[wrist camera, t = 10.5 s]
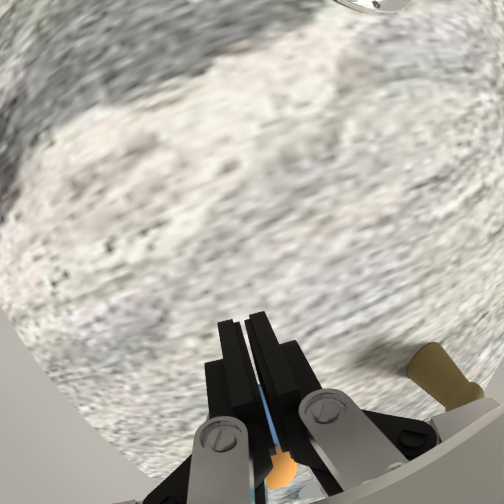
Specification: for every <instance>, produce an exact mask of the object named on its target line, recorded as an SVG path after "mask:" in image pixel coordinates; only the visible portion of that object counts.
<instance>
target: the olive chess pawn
mask: <svg viewBox="0 0 504 504" xmlns="http://www.w3.org/2000/svg"><path fill="white" fill-rule="evenodd" d="M407 375H408V377H409V378H410V379H411V380H412V381H414V382H415V383H416V384H417V385H418V386H420V387H421V388H422V389H423V390H425V391H426V392H427V393H428V394H430V395H431V396H432V397H433V398H434V399H436V400H437V401H438V402H439V403H441V404H442V405H443V406H444V407H446V412H448V411H451V410H453V409H456V408H458V407H461V406H464V405H466V404H468V403H471V402H473V401H476V400H478V399H481V398H484V391H483V389H482V388H481V387H480V386H479V385H478V384H476V383H474V382H469V381H468V380H467V379H466V377H465V376H464V375H463V373H462V372H461V371H460V369H459V368H458V367H457V366H456V364H455V363H454V362H453V360H452V359H451V358H450V357H449V355H448V354H447V353H446V351H445V350H444V349H443V348H442V346H441V345H440V344H439V343H436V342H433V343H430V344H428V345H426V346H424V347H423V348H422V349H421V350H419V351H418V352H417V354H416V355H415V356H414V357H413V358H412V360H411V362H410V363H409V366H408V368H407Z"/></svg>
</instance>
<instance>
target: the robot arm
mask: <svg viewBox="0 0 504 504" xmlns="http://www.w3.org/2000/svg"><path fill="white" fill-rule="evenodd" d="M337 1H338V2H340V3H342V4H344V5H346V6H348V7H350V8H352V9H355V10H358V11H361V12H364V13H369V14H374V15H389V14H394V13H396V12H398V11H401V10H403V9H404V8H405V7H407V6H408V5H409V3H410V2H411V0H337ZM249 318H250V319H247V320H244V322H245V326H246V330H247V334H248V338H249V343H250V347H251V351H252V355H253V359H254V363H255V367H256V371H257V375H258V378H259V382H260V385H261V388H262V392H263V395H264V398H265V401H266V404H267V407H268V411H269V414H270V417H271V420H272V423H273V426H274V429H275V432H276V435H277V438H278V441H279V444H280V447H281V450H282V453H284V452H288V451H289V454H290V457H291V459H293V460H294V462H297V463H300V464H302V465H305V466H306V467H307V470H308V472H309V473H310V475H311V476H312V478H313V479H314V481H315V482H316V484H317V485H318V487H319V489H320V490H321V492H322V493H323V495H324V496H325V499H322V500H319V501H316V502H313V503H310V504H504V404H502V405H500V404H499V403H498V402H497V401H495V400H493V399H491V398H481V399H478V400H476V401H473V402H471V403H468V404H466V405H464V406H461V407H458V408H456V409H453V410H451V411H448V412H445V413H442V414H439V415H437V416H434V417H432V418H431V420H430V421H427V422H424V421H420V420H416V419H409V418H403V417H397V416H392V415H387V414H381V413H376V412H371V411H367V410H362V409H360V408H359V407H358V406H357V405H356V404H355V403H354V402H353V400H352V399H351V398H350V397H349V396H348V395H346V394H345V393H344V392H342V391H339V390H337V389H329V388H328V389H322V387H321V385H320V383H319V381H318V379H317V378H316V376H315V374H314V372H313V370H312V368H311V367H310V365H309V363H308V361H307V359H306V357H305V356H304V354H303V352H302V350H301V348H300V346H299V345H298V343H297V341H296V340H293V341H290V342H286V343H283V344H279V343H278V340H277V338H276V336H275V334H274V331H273V329H272V327H271V325H270V323H269V320H268V318H267V316H266V314H265V312H264V311H262V312H258V313H254V314H250V315H249ZM217 324H218V330H219V336H220V342H221V348H222V354H223V359H220V360H216V361H211V362H207V363H205V376H206V387H207V397H208V406H209V415H210V420H208V421H206V422H204V423H203V424H202V425H201V426H200V427H199V428H198V429H197V431H196V433H195V436H194V442H193V450H192V454H191V455H190V456H189V457H188V458H187V459H186V460H185V461H184V462H183V463H182V464H181V465H180V466H179V467H178V468H177V469H176V470H175V471H174V472H173V473H171V474H170V475H169V476H168V477H167V478H166V479H165V480H164V481H163V482H162V483H161V484H160V485H159V486H157V487H156V488H155V489H154V490H153V491H152V492H151V493H150V494H149V495H148V496H147V497H146V498H145V499H144V500H143V501H138V502H137V501H136V500H130V501H125V502H120V503H115V504H268V492H267V481H266V477H267V475H268V474H269V473H270V471H271V470H272V469H273V462H272V459H271V456H273V455H277V452H276V448H275V445H274V441H273V437H272V434H271V430H270V426H269V423H268V419H267V415H266V411H265V408H264V404H263V400H262V397H261V393H260V390H259V387H258V383H257V380H256V377H255V373H254V370H253V367H252V363H251V360H250V357H249V353H248V350H247V346H246V343H245V339H244V336H243V332H242V329H241V325H240V322H235V323H233V319H230V320H226V321H222V322H218V323H217Z"/></svg>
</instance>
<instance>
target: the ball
mask: <svg viewBox="0 0 504 504" xmlns="http://www.w3.org/2000/svg"><path fill="white" fill-rule="evenodd" d="M275 448H276V452H277V455H273V456H271V459H272V462H273V469H272V470H271V471H270V473H269V474H268V475H267V477H266V481H267V488H269V489H275V488H280V487H283V486H285V485H287V484H288V483H289V482H290V481H291V480H292V479H293V478H294V476H295V474H296V471H297V462H294V460H293V459H291V457H290V454H289V451H288V452H284V453H282V450H281V447H279V446H275Z"/></svg>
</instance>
